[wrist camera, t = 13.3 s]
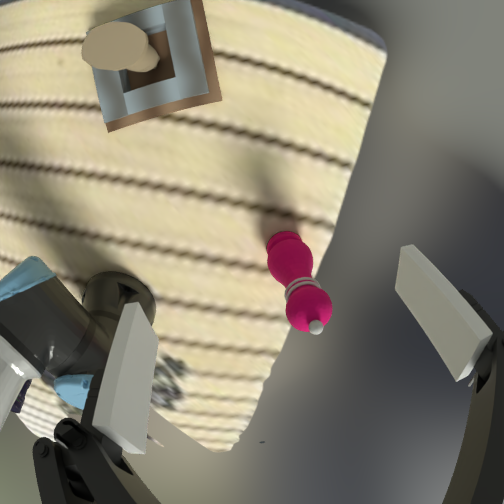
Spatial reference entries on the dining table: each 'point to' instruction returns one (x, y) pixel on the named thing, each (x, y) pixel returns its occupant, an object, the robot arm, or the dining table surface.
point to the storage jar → (21, 397)
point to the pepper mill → (298, 282)
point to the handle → (119, 48)
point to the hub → (162, 67)
